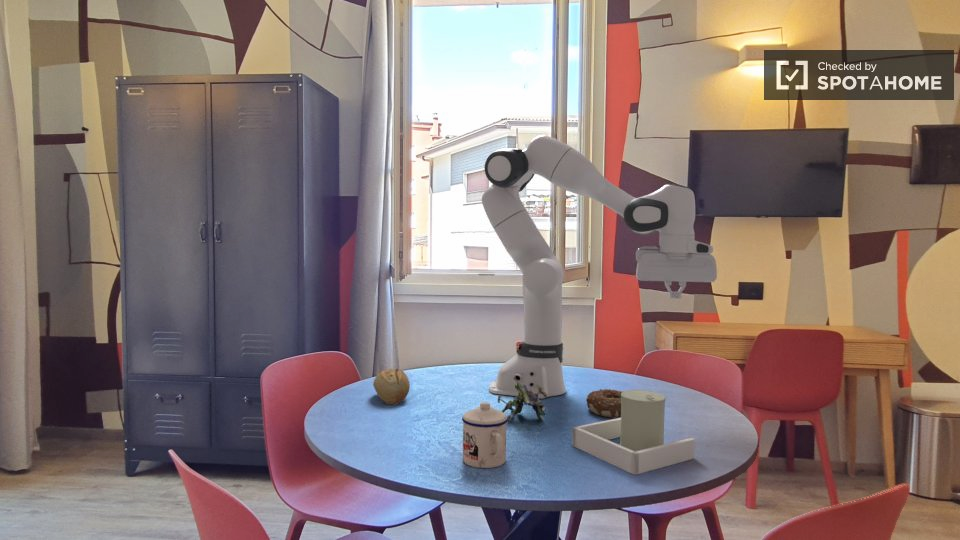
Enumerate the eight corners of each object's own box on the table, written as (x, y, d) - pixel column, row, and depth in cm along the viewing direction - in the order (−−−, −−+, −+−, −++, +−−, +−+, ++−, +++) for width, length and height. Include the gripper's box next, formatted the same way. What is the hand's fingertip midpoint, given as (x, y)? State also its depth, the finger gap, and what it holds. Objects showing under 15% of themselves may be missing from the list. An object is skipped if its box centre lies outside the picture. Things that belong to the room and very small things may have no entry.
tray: (629, 432, 134) (629, 415, 134) (694, 458, 119) (694, 439, 119) (572, 445, 126) (572, 427, 125) (634, 475, 110) (635, 454, 110)
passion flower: (538, 442, 143) (559, 411, 136) (498, 439, 139) (517, 406, 133) (528, 406, 152) (547, 375, 145) (489, 402, 148) (507, 369, 142)
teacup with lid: (454, 455, 119) (455, 399, 118) (495, 449, 123) (495, 395, 122) (478, 478, 108) (479, 416, 107) (522, 470, 112) (523, 410, 111)
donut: (575, 408, 155) (576, 389, 154) (619, 403, 160) (619, 385, 159) (606, 424, 141) (607, 403, 141) (652, 418, 146) (653, 398, 146)
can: (635, 458, 119) (637, 400, 118) (611, 443, 127) (612, 389, 127) (673, 453, 122) (675, 397, 121) (646, 439, 130) (648, 386, 130)
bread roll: (402, 390, 169) (402, 363, 169) (415, 404, 155) (415, 374, 155) (369, 393, 166) (369, 365, 166) (379, 407, 152) (379, 377, 152)
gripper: (637, 245, 152) (635, 298, 153) (719, 247, 149) (717, 300, 150) (634, 245, 159) (633, 296, 159) (713, 246, 155) (711, 298, 156)
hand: (674, 298), depth 155 cm, fingers closed
